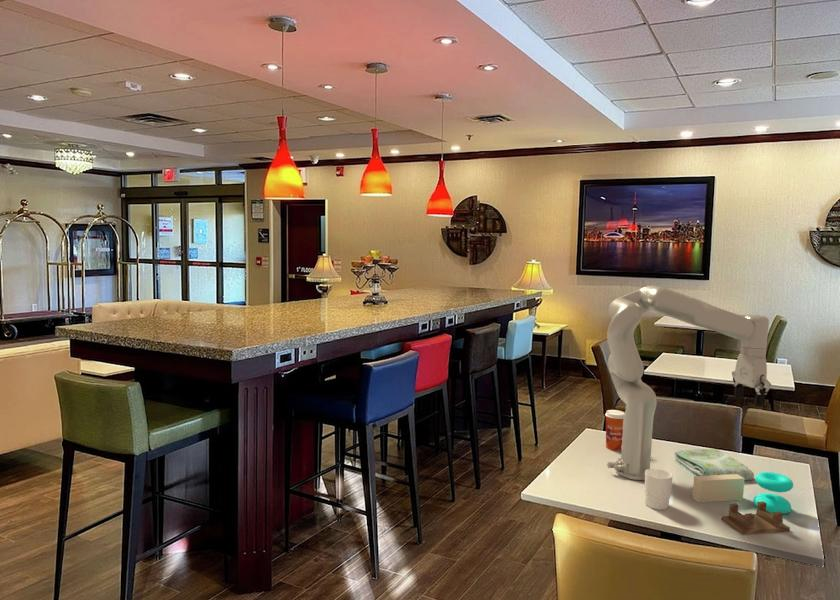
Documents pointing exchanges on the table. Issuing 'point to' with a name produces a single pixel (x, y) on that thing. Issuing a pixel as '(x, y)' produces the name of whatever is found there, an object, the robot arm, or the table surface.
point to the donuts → (774, 484)
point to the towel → (711, 463)
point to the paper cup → (614, 429)
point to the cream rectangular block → (718, 487)
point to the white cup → (657, 488)
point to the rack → (755, 520)
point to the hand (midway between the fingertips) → (748, 401)
